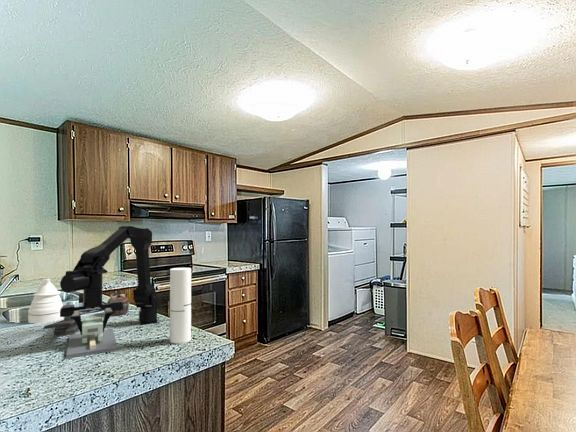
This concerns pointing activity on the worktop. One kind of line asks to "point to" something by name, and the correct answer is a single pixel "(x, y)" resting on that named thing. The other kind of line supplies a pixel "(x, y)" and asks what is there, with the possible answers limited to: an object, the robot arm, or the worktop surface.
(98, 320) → the cabinet block
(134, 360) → the worktop surface
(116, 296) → the cupcake
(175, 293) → the cylindrical container
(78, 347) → the cleat board
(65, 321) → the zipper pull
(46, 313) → the honey pot
